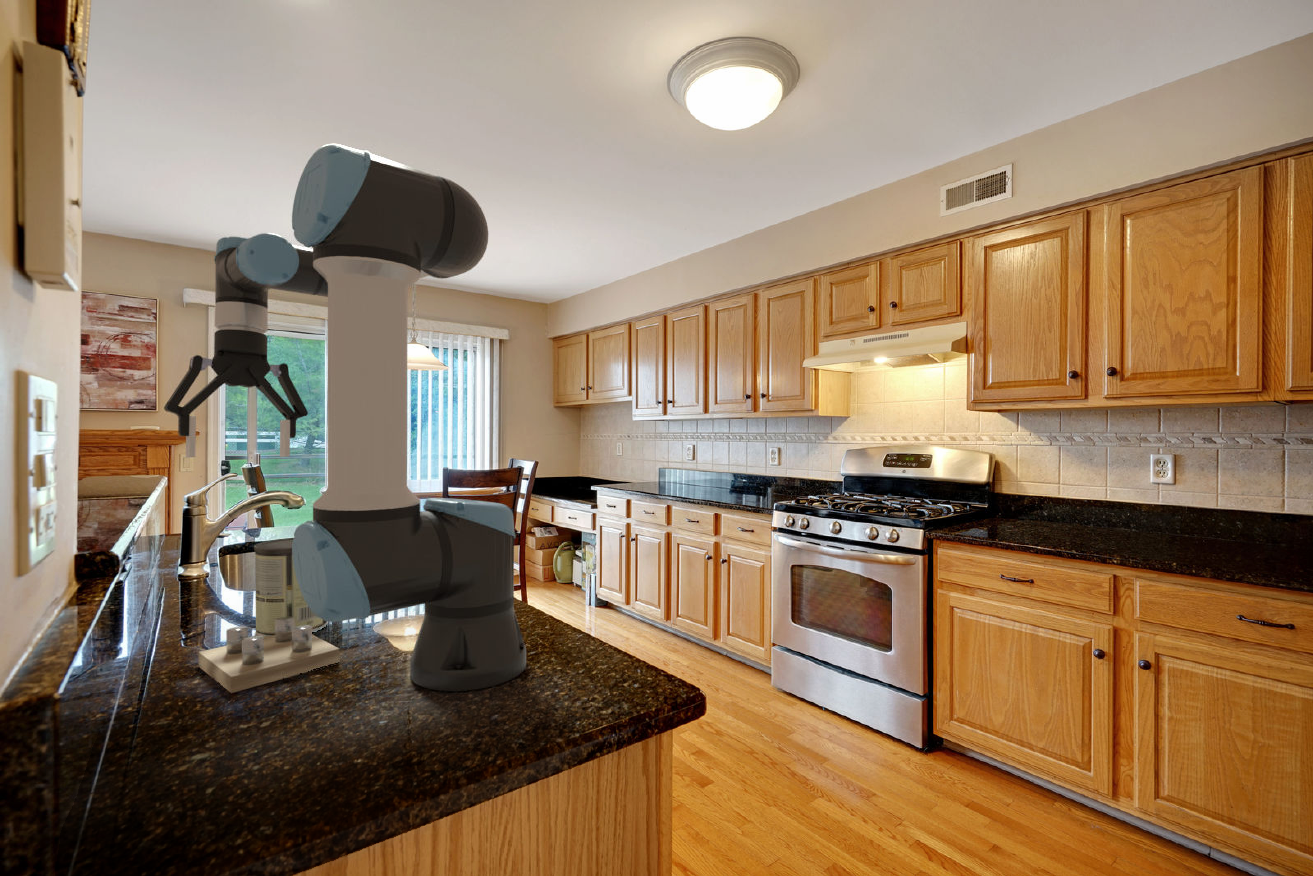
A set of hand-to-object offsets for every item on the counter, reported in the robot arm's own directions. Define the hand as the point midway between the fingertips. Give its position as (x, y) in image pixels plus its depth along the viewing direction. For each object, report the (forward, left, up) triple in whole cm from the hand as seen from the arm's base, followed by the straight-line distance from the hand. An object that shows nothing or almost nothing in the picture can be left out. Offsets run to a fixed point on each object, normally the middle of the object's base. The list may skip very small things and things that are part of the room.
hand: (239, 457), depth 106 cm
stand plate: (-26, +4, -27) cm, 38 cm away
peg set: (-26, +4, -25) cm, 37 cm away
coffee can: (-12, -4, -28) cm, 30 cm away
